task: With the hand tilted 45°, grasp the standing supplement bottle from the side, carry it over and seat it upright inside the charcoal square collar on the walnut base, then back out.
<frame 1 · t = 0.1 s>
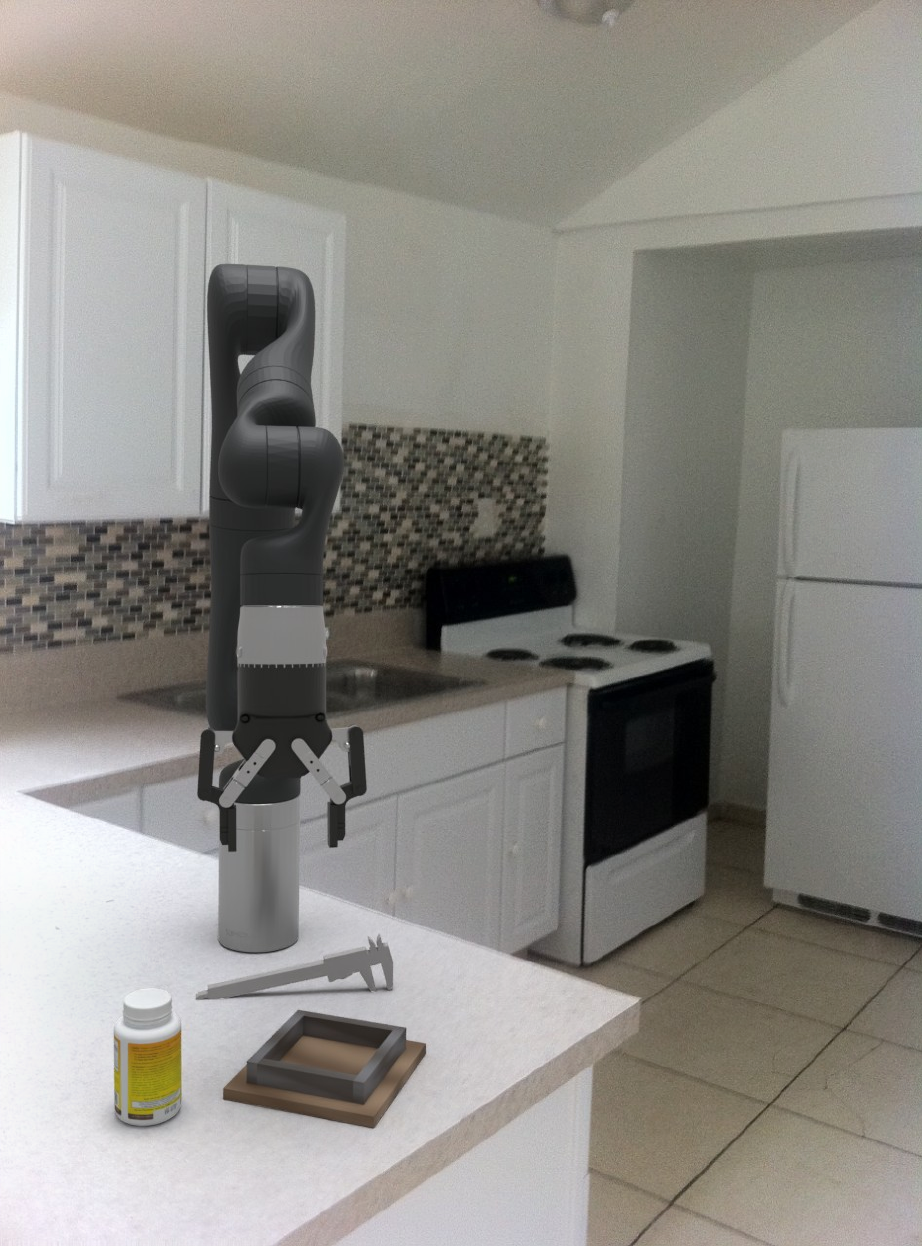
hand: (282, 848, 107), 22 cm above the worktop, tool pointing down, fingers open, 8 cm apart
supplement bottle: (148, 1114, 107), on the worktop
caliper: (295, 997, 131), on the worktop
collar base: (328, 1075, 114), on the worktop
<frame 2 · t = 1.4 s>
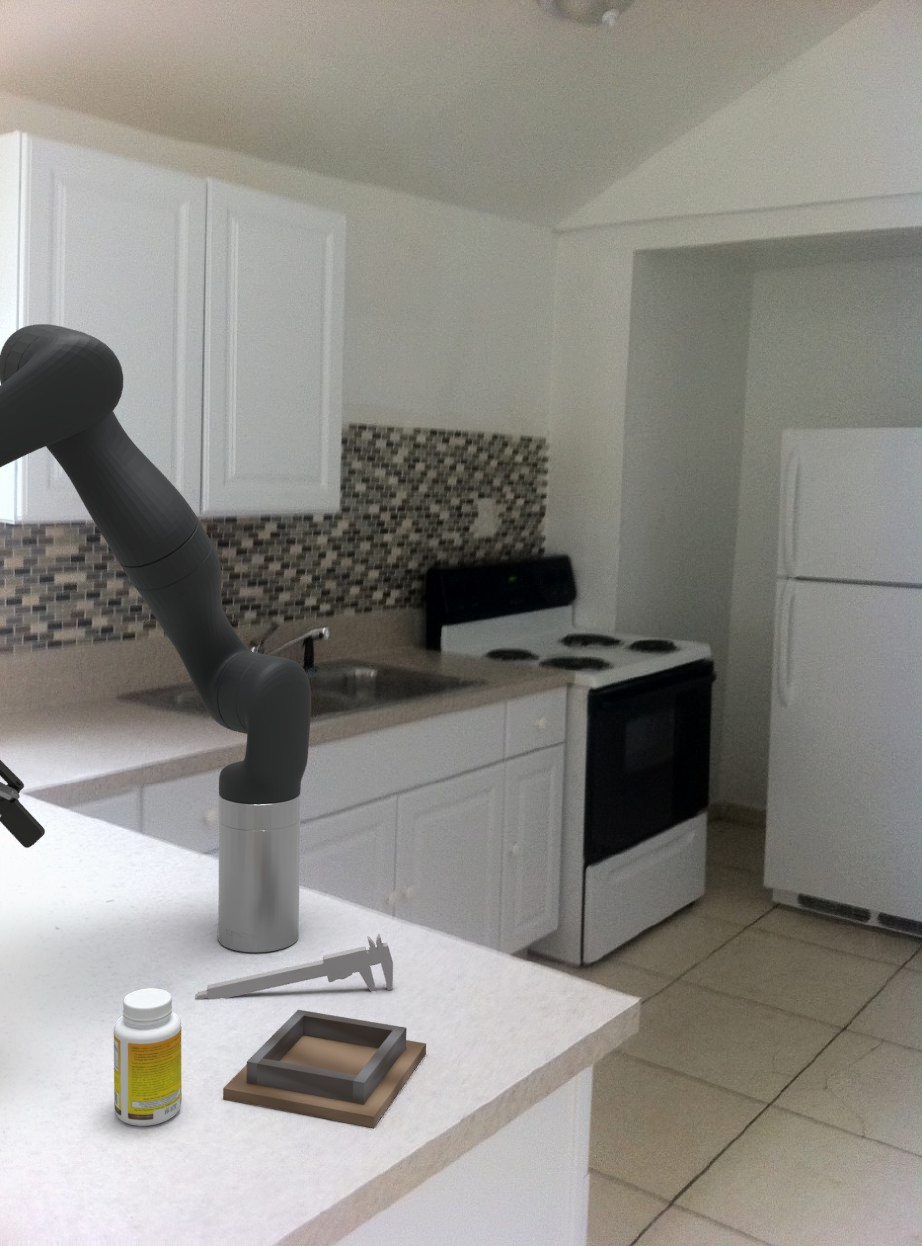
hand: (14, 855, 105), 22 cm above the worktop, tool tilted 45°, fingers open, 8 cm apart
nothing on the worktop moved.
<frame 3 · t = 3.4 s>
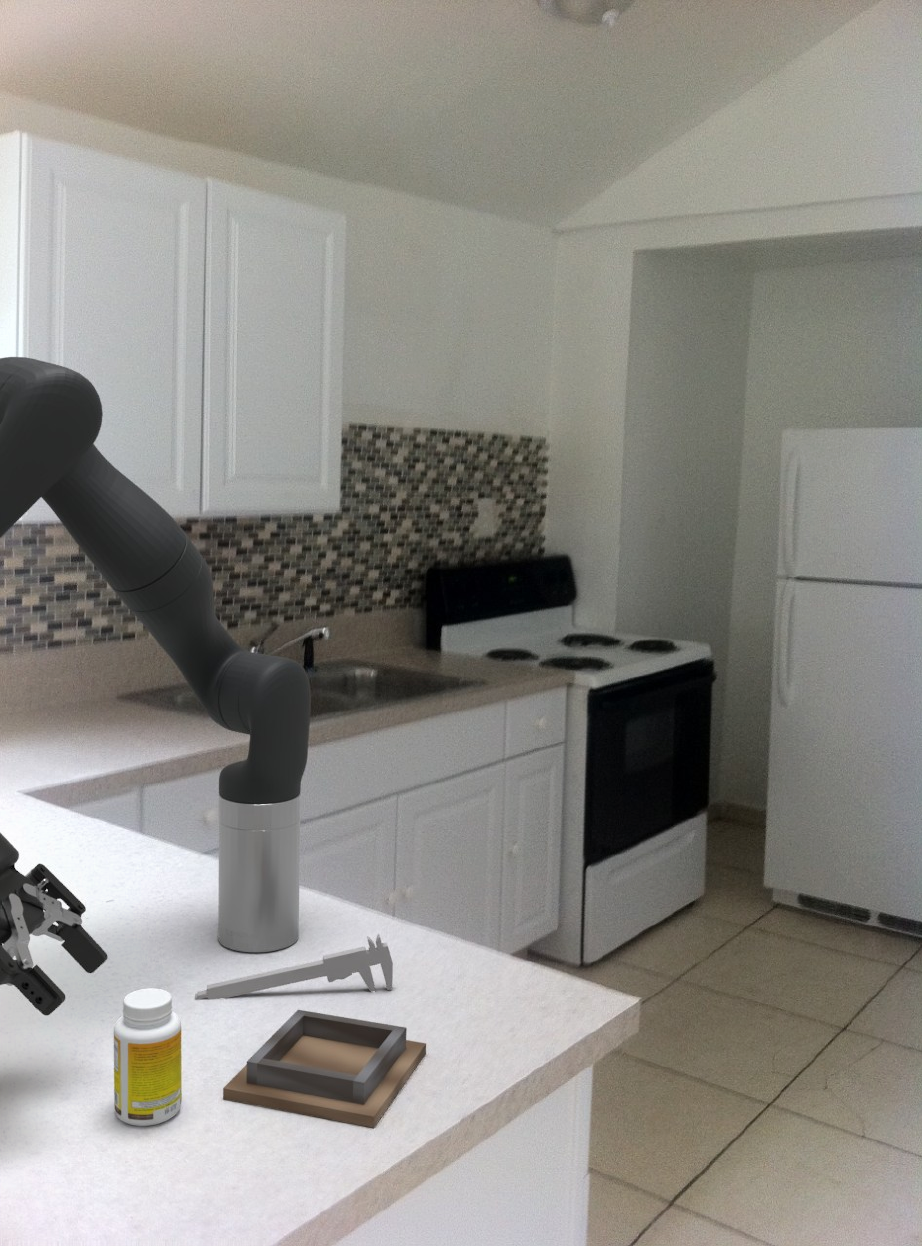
hand: (79, 986, 106), 11 cm above the worktop, tool tilted 45°, fingers open, 8 cm apart
nothing on the worktop moved.
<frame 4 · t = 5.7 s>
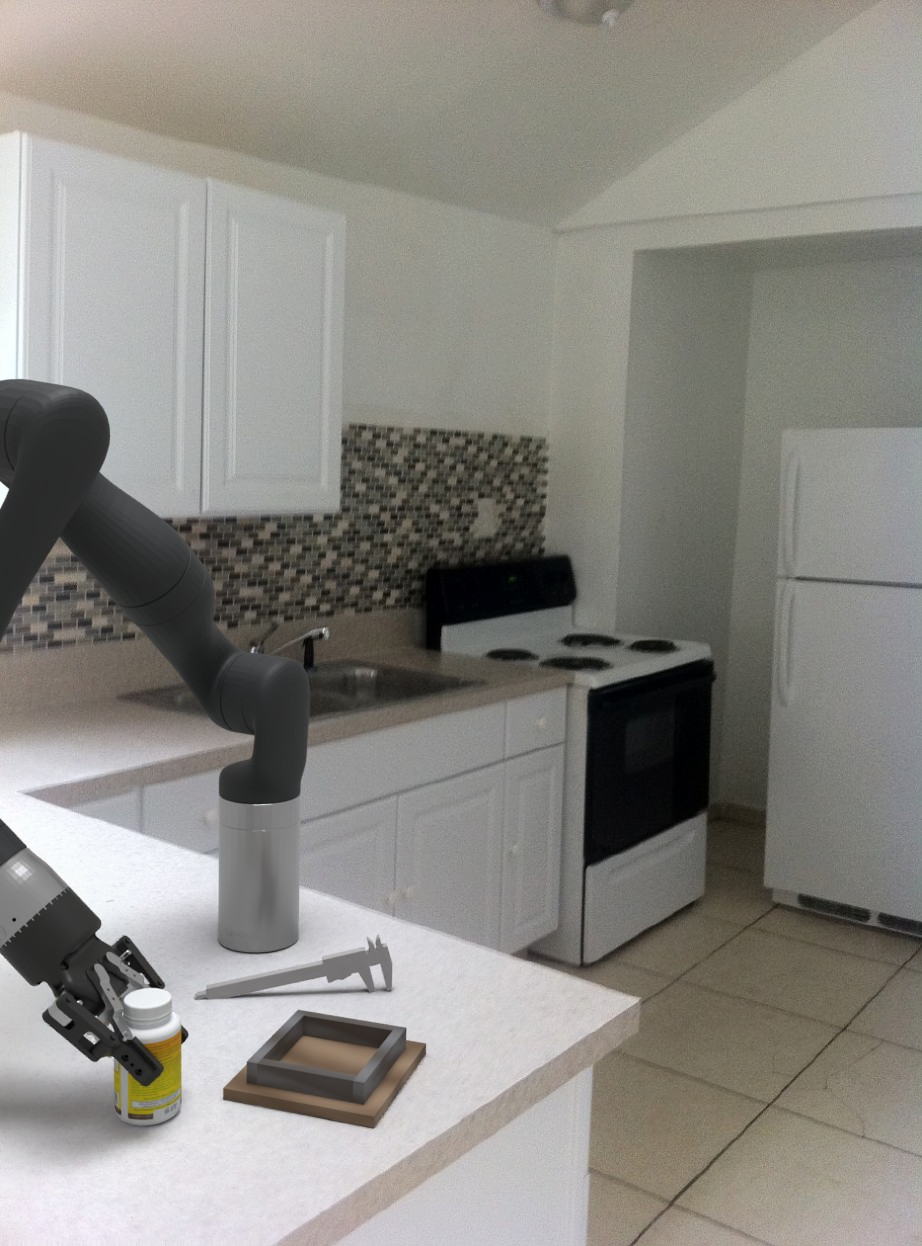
hand: (168, 1060, 106), 5 cm above the worktop, tool tilted 45°, fingers closed on supplement bottle, 5 cm apart
supplement bottle: (148, 1113, 107), on the worktop, touching gripper
everything else where it was.
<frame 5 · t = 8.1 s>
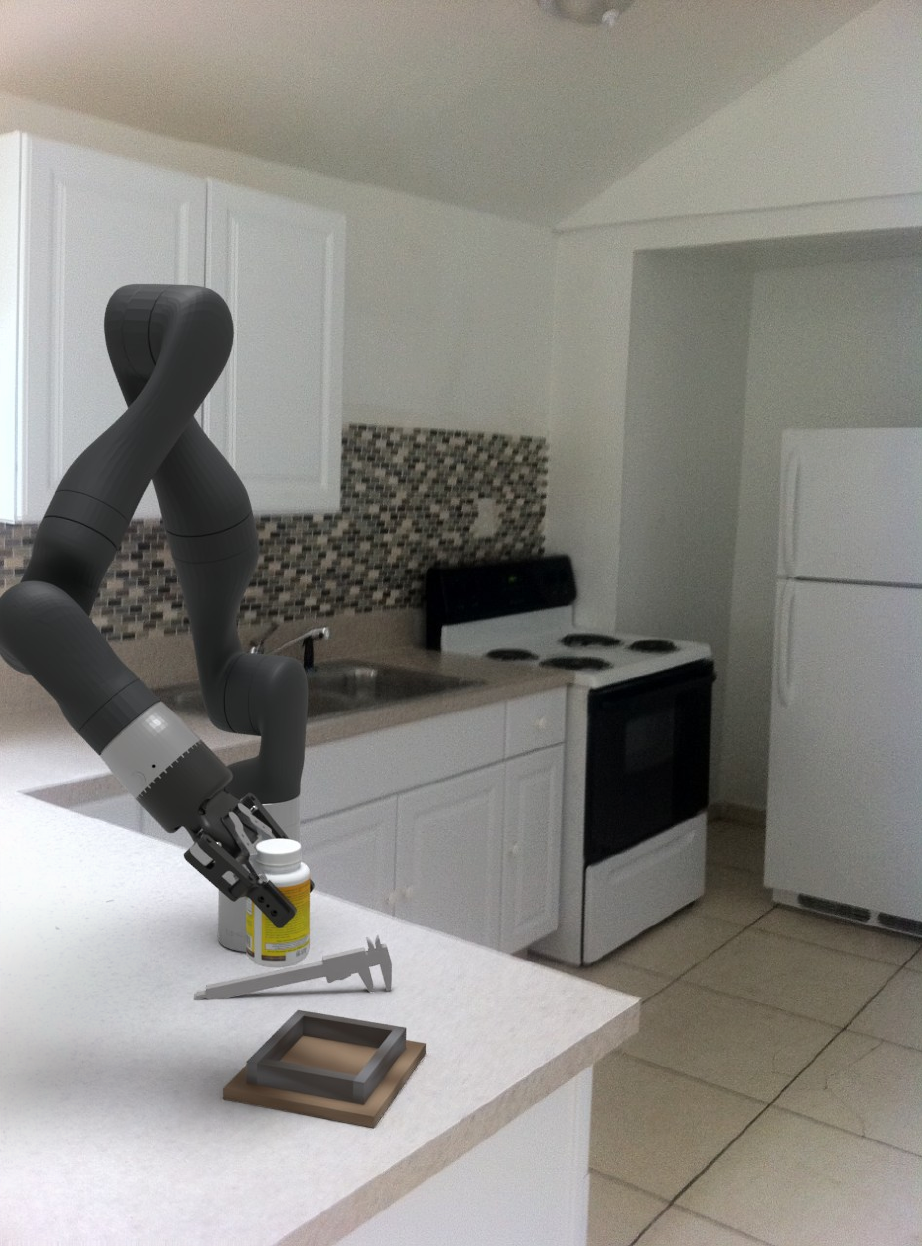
hand: (298, 906, 110), 17 cm above the worktop, tool tilted 45°, fingers closed on supplement bottle, 5 cm apart
supplement bottle: (277, 958, 110), point 12 cm above the worktop, touching gripper
everything else where it was.
when the fingers open (7 cm above the worktop, at t = 10.9 s): supplement bottle drops 1 cm, resting on collar base.
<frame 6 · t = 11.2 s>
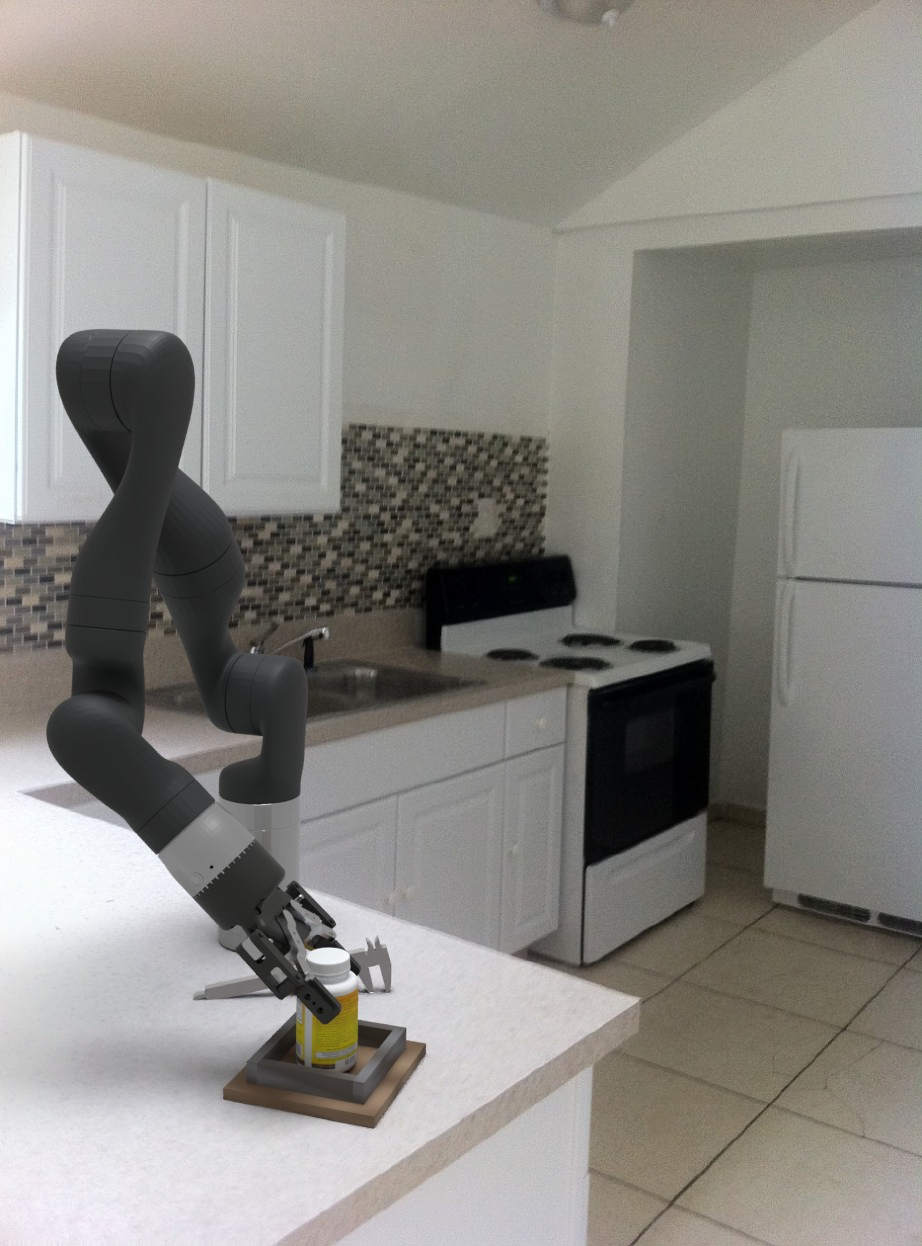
hand: (344, 996, 113), 8 cm above the worktop, tool tilted 45°, fingers open, 8 cm apart
supplement bottle: (326, 1065, 114), point 1 cm above the worktop, touching collar base
everything else where it was.
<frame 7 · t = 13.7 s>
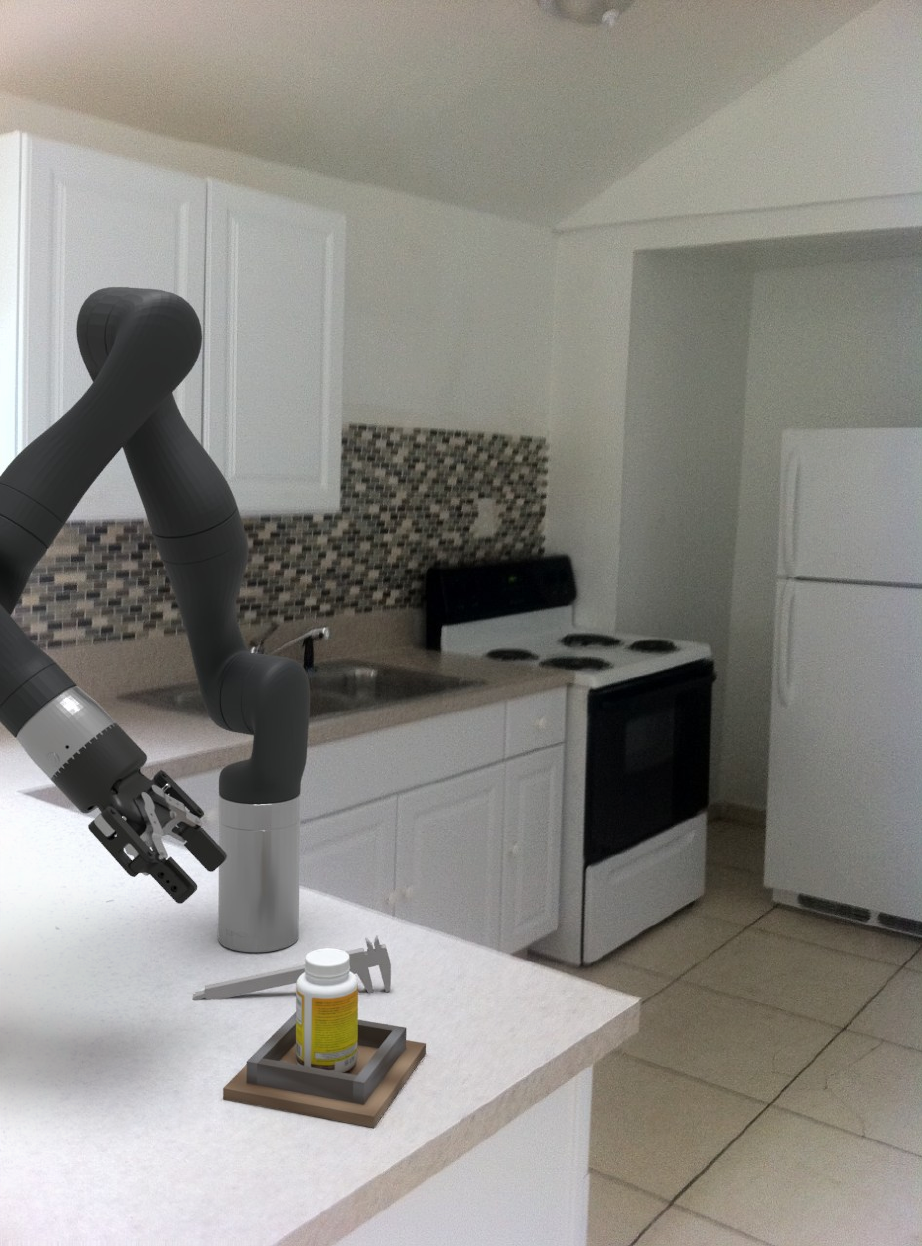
hand: (205, 880, 113), 18 cm above the worktop, tool tilted 45°, fingers open, 8 cm apart
nothing on the worktop moved.
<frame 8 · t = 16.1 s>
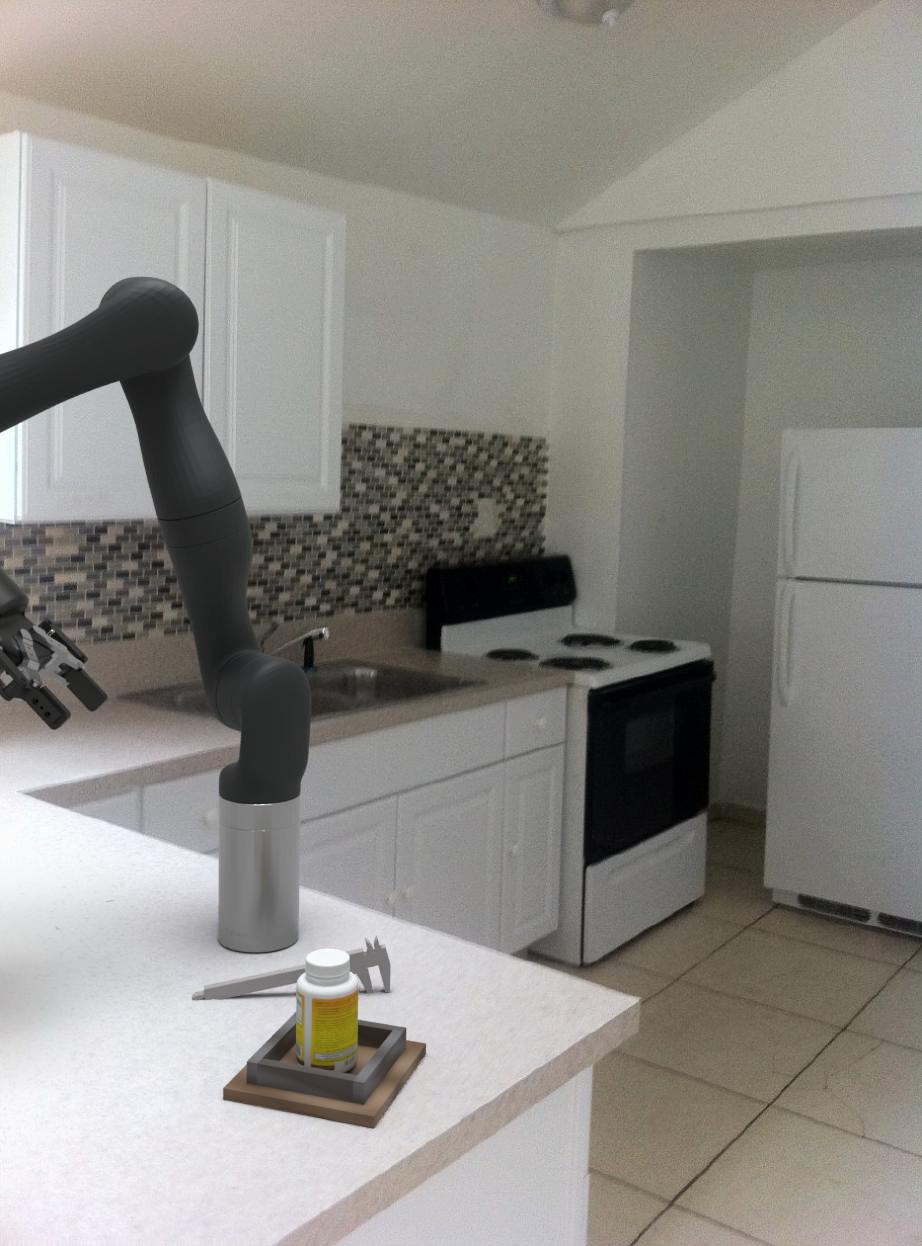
hand: (82, 714, 119), 31 cm above the worktop, tool tilted 45°, fingers open, 8 cm apart
nothing on the worktop moved.
at the end: supplement bottle 0.2 cm off-centre on the collar base, point 0.8 cm above the collar base's base; supplement bottle tilted 0°; the gripper is holding nothing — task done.
